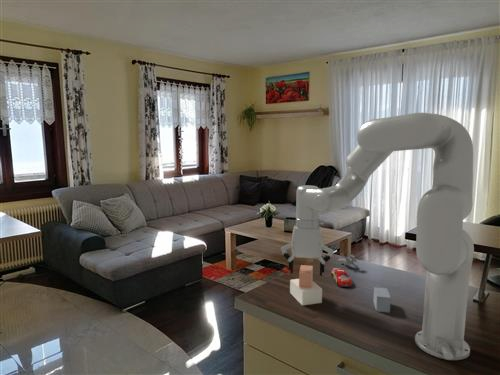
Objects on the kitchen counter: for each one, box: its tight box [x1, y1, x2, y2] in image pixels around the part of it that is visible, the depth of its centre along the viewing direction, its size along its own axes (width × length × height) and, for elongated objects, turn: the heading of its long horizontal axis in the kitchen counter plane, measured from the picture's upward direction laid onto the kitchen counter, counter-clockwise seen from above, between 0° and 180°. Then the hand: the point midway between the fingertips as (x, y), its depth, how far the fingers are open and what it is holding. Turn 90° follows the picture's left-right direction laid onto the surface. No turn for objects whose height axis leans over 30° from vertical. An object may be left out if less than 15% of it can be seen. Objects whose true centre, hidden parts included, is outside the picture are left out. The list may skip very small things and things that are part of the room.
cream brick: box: [289, 278, 323, 306], centre depth 123 cm, size 10×7×5 cm
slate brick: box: [372, 286, 392, 313], centre depth 116 cm, size 7×4×5 cm, turn 168°
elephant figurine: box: [338, 252, 359, 269], centre depth 151 cm, size 10×6×9 cm
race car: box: [331, 267, 353, 288], centre depth 137 cm, size 13×5×4 cm, turn 0°
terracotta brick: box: [298, 264, 314, 288], centre depth 122 cm, size 7×4×5 cm, turn 167°
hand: (306, 273), depth 122 cm, fingers open, 9 cm apart
